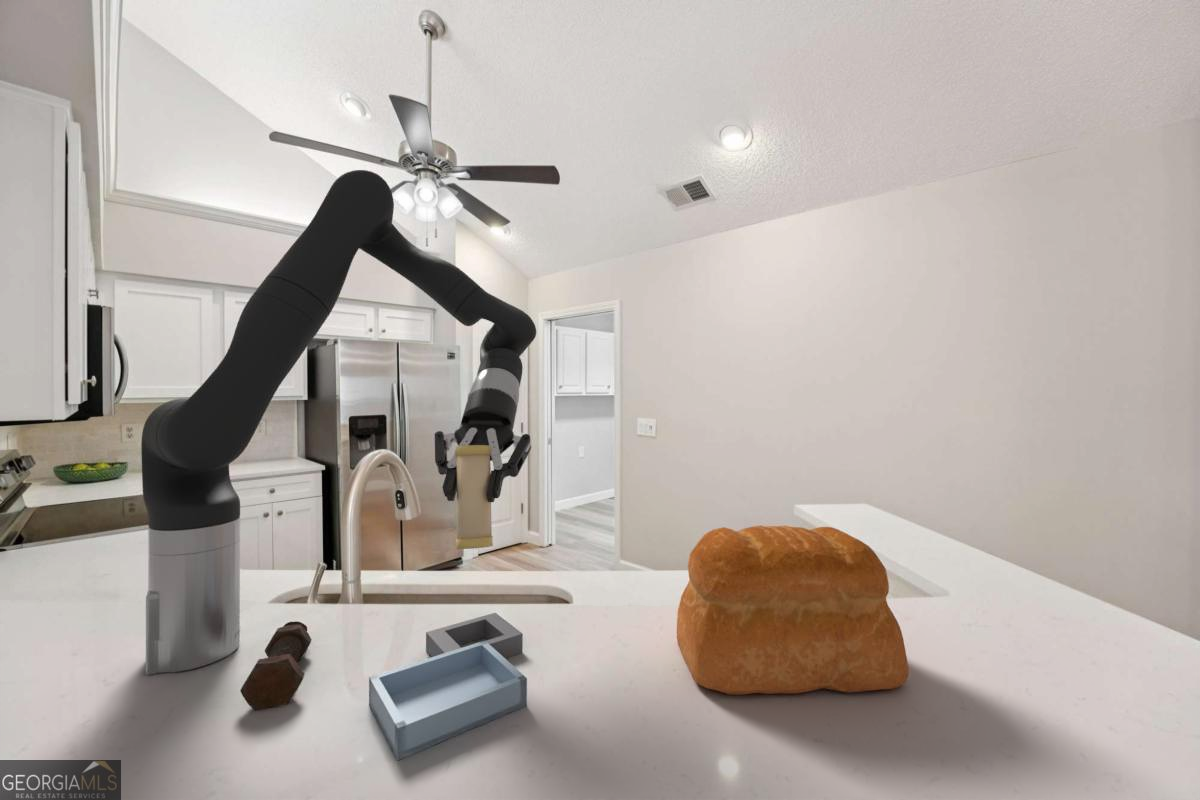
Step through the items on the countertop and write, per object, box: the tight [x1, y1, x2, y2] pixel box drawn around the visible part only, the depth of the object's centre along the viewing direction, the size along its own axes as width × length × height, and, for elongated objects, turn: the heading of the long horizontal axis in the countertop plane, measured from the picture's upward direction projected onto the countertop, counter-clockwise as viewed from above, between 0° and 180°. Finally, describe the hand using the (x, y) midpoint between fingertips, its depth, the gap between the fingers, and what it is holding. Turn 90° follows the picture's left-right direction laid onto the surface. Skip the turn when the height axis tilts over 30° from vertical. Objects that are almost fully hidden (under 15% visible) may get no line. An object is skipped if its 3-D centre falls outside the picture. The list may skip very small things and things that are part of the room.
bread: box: [676, 525, 910, 696], centre depth 64 cm, size 16×26×17 cm, turn 93°
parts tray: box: [368, 640, 528, 761], centre depth 54 cm, size 14×11×3 cm
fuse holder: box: [425, 612, 524, 659], centre depth 66 cm, size 10×8×2 cm
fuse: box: [455, 445, 494, 550], centre depth 66 cm, size 5×5×13 cm
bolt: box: [240, 620, 312, 711], centre depth 61 cm, size 6×5×15 cm
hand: (469, 497), depth 64 cm, fingers closed on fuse, 4 cm apart
